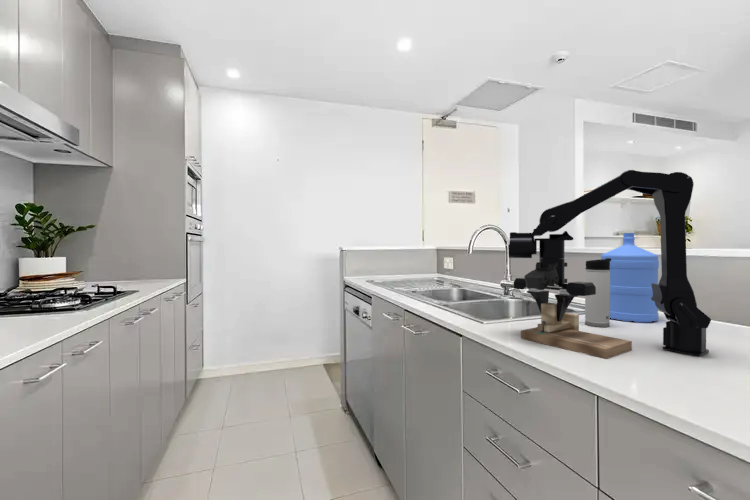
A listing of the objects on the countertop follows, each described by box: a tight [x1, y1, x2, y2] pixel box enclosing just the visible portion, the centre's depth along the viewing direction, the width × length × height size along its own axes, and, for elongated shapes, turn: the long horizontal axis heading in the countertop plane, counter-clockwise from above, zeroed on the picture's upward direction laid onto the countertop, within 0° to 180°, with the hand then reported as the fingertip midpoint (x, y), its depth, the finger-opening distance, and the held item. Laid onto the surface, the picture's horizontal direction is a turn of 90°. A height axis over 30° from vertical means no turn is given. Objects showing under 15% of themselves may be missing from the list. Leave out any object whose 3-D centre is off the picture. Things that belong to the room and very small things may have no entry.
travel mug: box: [584, 258, 611, 328], centre depth 106 cm, size 6×7×20 cm
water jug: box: [600, 232, 660, 323], centre depth 117 cm, size 16×16×28 cm
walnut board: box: [520, 326, 633, 360], centre depth 86 cm, size 20×12×2 cm, turn 33°
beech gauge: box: [536, 301, 580, 332], centre depth 92 cm, size 5×12×8 cm, turn 123°
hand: (551, 319), depth 91 cm, fingers closed on beech gauge, 3 cm apart
